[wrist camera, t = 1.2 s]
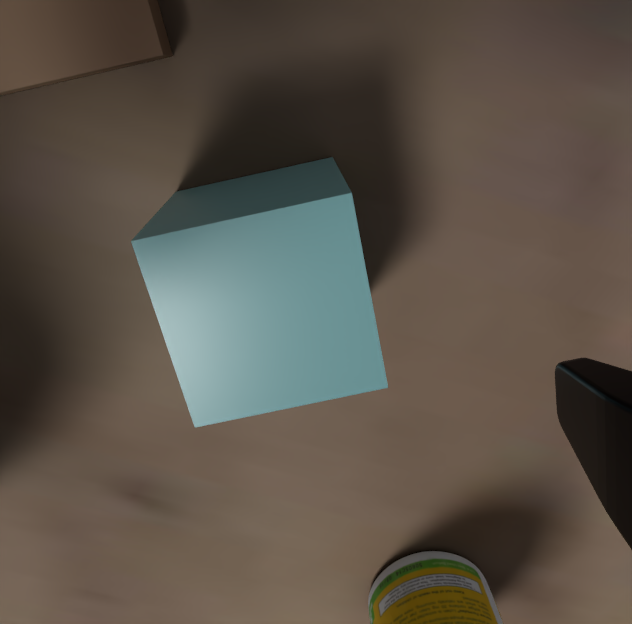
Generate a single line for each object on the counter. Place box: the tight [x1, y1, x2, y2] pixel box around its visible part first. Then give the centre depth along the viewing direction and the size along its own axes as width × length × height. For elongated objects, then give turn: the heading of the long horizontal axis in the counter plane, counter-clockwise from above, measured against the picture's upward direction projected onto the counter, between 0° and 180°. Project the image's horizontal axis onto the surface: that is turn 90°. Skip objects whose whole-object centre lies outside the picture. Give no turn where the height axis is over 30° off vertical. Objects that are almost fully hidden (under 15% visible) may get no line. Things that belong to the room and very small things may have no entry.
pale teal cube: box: [131, 157, 388, 427], centre depth 17 cm, size 5×5×6 cm
